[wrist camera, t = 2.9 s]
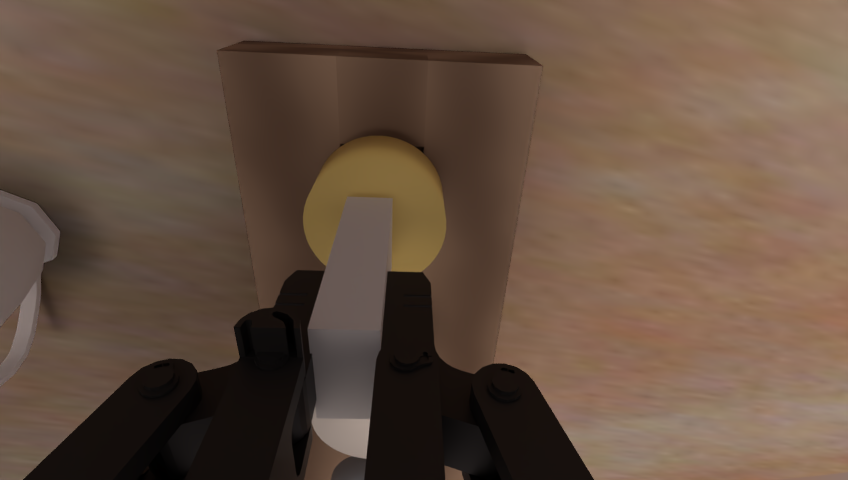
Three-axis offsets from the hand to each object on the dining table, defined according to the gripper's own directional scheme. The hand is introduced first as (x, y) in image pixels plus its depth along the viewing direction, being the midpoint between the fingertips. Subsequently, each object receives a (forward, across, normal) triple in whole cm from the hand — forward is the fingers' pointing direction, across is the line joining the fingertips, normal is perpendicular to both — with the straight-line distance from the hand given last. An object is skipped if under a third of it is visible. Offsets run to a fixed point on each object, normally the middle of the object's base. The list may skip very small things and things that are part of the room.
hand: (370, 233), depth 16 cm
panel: (+7, 0, -8) cm, 11 cm away
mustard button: (+6, 0, 0) cm, 6 cm away
